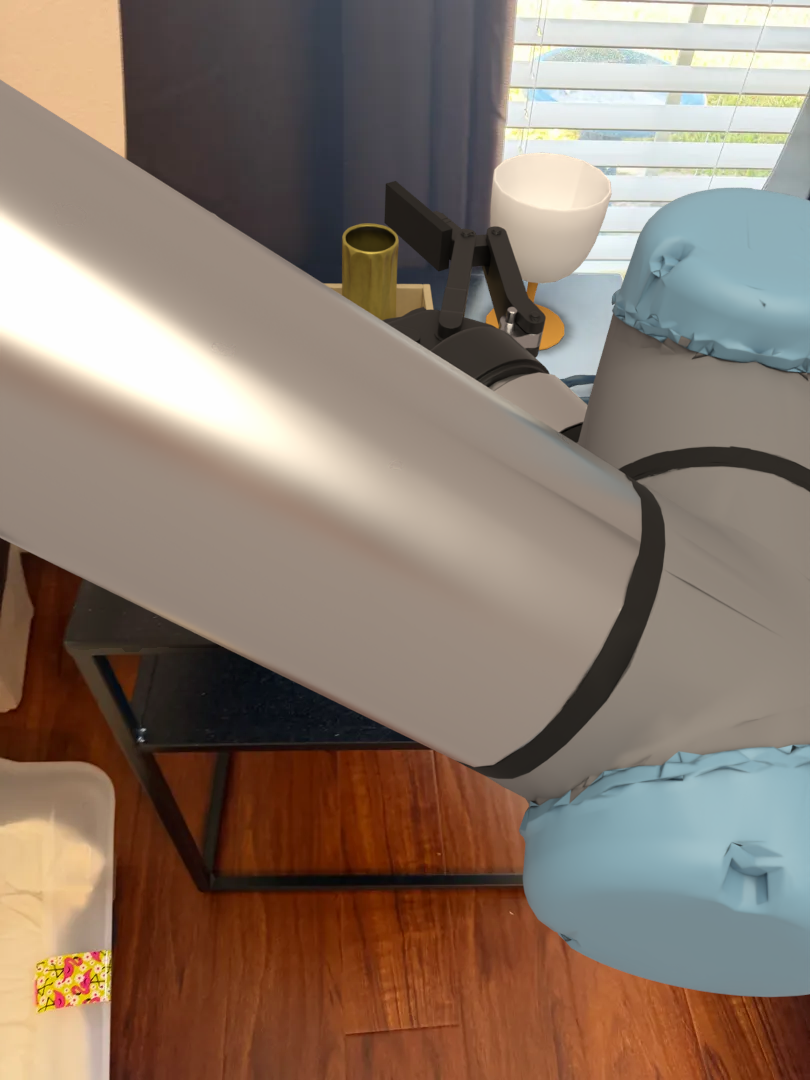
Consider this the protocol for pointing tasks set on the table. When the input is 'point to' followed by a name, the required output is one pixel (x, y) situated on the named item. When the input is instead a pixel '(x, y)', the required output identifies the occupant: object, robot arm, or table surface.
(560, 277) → the cup
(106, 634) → the table surface
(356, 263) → the vase
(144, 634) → the table surface
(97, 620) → the table surface
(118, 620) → the table surface
